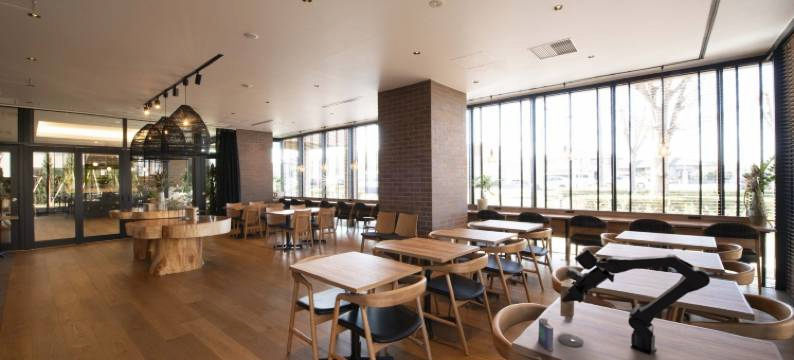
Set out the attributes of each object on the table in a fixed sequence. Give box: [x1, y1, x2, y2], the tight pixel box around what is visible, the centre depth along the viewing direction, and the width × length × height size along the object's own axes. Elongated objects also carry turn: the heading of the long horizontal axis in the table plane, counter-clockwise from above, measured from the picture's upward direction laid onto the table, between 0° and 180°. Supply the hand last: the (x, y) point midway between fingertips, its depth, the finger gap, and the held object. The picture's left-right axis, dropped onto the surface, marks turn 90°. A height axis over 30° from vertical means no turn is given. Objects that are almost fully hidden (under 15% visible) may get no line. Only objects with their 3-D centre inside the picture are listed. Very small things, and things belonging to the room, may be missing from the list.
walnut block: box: [559, 282, 575, 319], centre depth 148 cm, size 4×4×13 cm
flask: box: [538, 317, 554, 352], centre depth 136 cm, size 9×3×11 cm, turn 2°
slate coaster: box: [557, 333, 584, 348], centre depth 139 cm, size 9×9×1 cm
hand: (563, 299), depth 149 cm, fingers closed on walnut block, 4 cm apart
